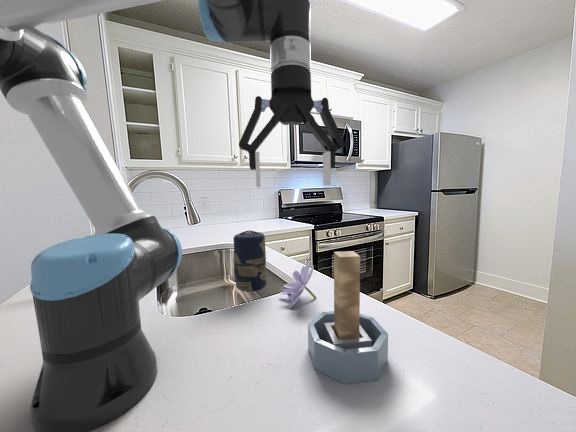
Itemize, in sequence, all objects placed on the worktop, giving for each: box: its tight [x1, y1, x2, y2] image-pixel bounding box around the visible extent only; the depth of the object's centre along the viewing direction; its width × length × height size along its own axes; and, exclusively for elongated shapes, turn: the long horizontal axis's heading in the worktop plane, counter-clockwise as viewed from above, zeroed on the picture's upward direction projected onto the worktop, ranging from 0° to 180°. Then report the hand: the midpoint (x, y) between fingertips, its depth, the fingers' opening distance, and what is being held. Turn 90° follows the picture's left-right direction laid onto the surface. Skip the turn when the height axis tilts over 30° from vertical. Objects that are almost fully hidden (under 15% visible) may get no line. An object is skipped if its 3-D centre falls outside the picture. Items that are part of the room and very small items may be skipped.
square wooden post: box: [333, 250, 361, 340], centre depth 44 cm, size 4×4×18 cm
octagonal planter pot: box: [307, 310, 389, 385], centre depth 44 cm, size 13×13×5 cm
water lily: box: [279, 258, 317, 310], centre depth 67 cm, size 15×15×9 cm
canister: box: [233, 230, 267, 293], centre depth 75 cm, size 10×10×18 cm
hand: (293, 186), depth 48 cm, fingers open, 13 cm apart
